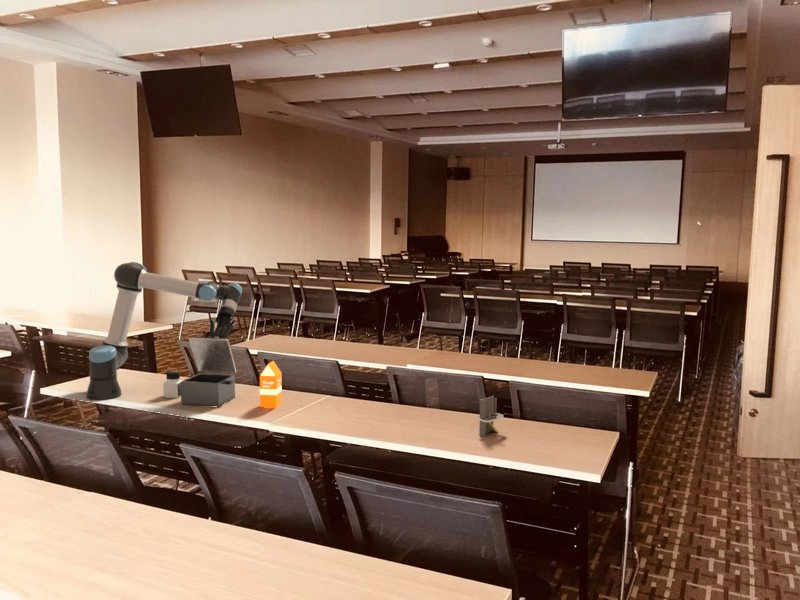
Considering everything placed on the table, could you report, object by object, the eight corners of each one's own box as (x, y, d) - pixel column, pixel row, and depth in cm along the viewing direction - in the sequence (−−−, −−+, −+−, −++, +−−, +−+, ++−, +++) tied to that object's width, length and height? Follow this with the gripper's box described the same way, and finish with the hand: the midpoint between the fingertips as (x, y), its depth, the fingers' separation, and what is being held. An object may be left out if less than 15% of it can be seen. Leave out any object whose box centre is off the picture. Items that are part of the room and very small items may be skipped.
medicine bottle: (178, 398, 302) (177, 373, 301) (163, 397, 302) (162, 372, 301) (183, 394, 309) (183, 370, 308) (169, 394, 309) (168, 369, 308)
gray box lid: (198, 373, 306) (201, 369, 308) (236, 374, 303) (238, 371, 305) (188, 339, 295) (191, 335, 297) (227, 340, 292) (229, 337, 294)
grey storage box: (194, 395, 306) (194, 373, 305) (239, 398, 303) (239, 375, 302) (176, 405, 289) (175, 381, 288) (223, 407, 285) (223, 383, 284)
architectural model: (528, 433, 254) (529, 397, 252) (490, 447, 236) (491, 409, 235) (488, 423, 268) (489, 389, 266) (450, 435, 250) (450, 399, 249)
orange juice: (282, 403, 294) (281, 360, 293) (276, 408, 286) (276, 364, 284) (265, 402, 295) (265, 360, 293) (259, 407, 286) (259, 363, 285)
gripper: (242, 315, 315) (229, 354, 300) (217, 314, 317) (202, 353, 302) (238, 306, 310) (224, 345, 295) (212, 305, 311) (197, 344, 297)
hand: (213, 349), depth 299 cm, fingers closed
